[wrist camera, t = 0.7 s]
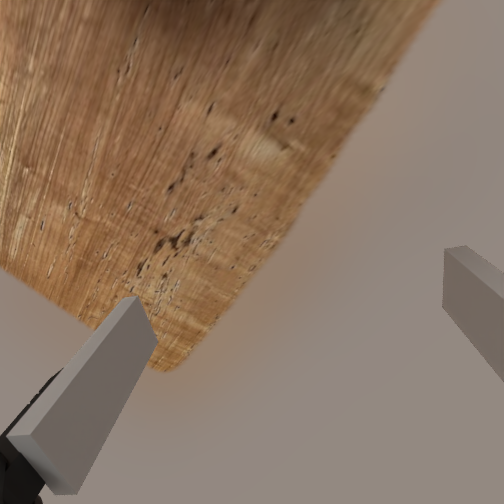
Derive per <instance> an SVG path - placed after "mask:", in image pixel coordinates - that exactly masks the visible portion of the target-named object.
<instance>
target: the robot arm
mask: <svg viewBox="0 0 504 504" xmlns="http://www.w3.org/2000/svg"><path fill="white" fill-rule="evenodd" d="M442 307H443V308H444V310H445V311H446V312H447V313H448V315H449V316H450V317H451V318H452V319H453V320H454V322H455V323H456V324H457V325H458V327H459V328H460V329H461V330H462V332H463V333H464V334H465V335H466V337H467V338H468V339H469V340H470V341H471V343H472V344H473V345H474V346H475V347H476V349H477V350H478V351H479V352H480V354H481V355H482V356H483V357H484V358H485V360H486V361H487V362H488V363H489V365H490V366H491V367H492V368H493V369H494V371H495V372H496V373H497V374H498V376H499V377H500V378H501V379H502V380H503V382H504V273H503V272H502V271H500V270H499V269H497V268H496V267H495V266H493V265H492V264H491V263H489V262H488V261H487V260H485V259H484V258H482V257H481V256H480V255H478V254H477V253H475V252H474V251H473V250H471V249H470V248H469V247H467V246H460V247H454V248H447V249H445V251H444V279H443V306H442ZM157 343H158V340H157V338H156V336H155V333H154V331H153V329H152V327H151V324H150V322H149V320H148V317H147V315H146V313H145V311H144V308H143V306H142V304H141V302H140V299H139V297H138V296H133V297H126V298H123V299H122V300H121V301H120V302H119V303H118V305H117V306H116V307H115V308H114V309H113V310H112V312H111V313H110V314H109V315H108V316H107V318H106V319H105V320H104V321H103V322H102V323H101V325H100V326H99V327H98V328H97V329H96V330H95V332H94V333H93V334H92V335H91V336H90V338H89V339H88V340H87V341H86V342H85V344H84V345H83V346H82V347H81V348H80V349H79V351H78V352H77V353H76V354H75V355H74V357H73V358H72V359H71V360H70V361H69V362H68V364H67V365H66V366H65V367H64V368H62V370H60V371H59V372H58V373H56V374H55V375H54V376H53V377H51V378H50V379H49V380H48V381H47V383H46V384H45V385H44V386H43V387H42V389H41V390H40V391H39V394H36V395H35V396H34V398H33V399H32V400H31V401H30V404H28V405H27V406H26V407H25V408H24V409H23V410H22V411H21V413H20V414H19V415H18V416H17V417H16V419H15V420H14V421H13V422H12V423H11V424H10V426H8V428H7V429H6V430H5V431H4V432H3V433H2V435H1V436H0V504H43V503H42V499H41V497H40V496H39V495H38V494H39V493H40V491H41V489H42V488H43V486H44V485H45V484H46V485H47V486H48V487H49V488H50V490H51V491H52V492H53V493H54V494H55V495H73V494H77V493H78V491H79V489H80V487H81V486H82V484H83V482H84V480H85V478H86V476H87V474H88V473H89V471H90V469H91V467H92V465H93V463H94V461H95V460H96V457H97V456H98V454H99V452H100V450H101V448H102V446H103V444H104V443H105V441H106V439H107V437H108V435H109V433H110V431H111V429H112V427H113V426H114V424H115V422H116V420H117V418H118V416H119V414H120V413H121V411H122V409H123V407H124V405H125V403H126V401H127V400H128V398H129V396H130V394H131V392H132V390H133V388H134V386H135V385H136V382H137V381H138V379H139V377H140V375H141V373H142V371H143V370H144V368H145V366H146V364H147V362H148V360H149V358H150V356H151V355H152V353H153V351H154V349H155V347H156V345H157Z"/></svg>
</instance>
